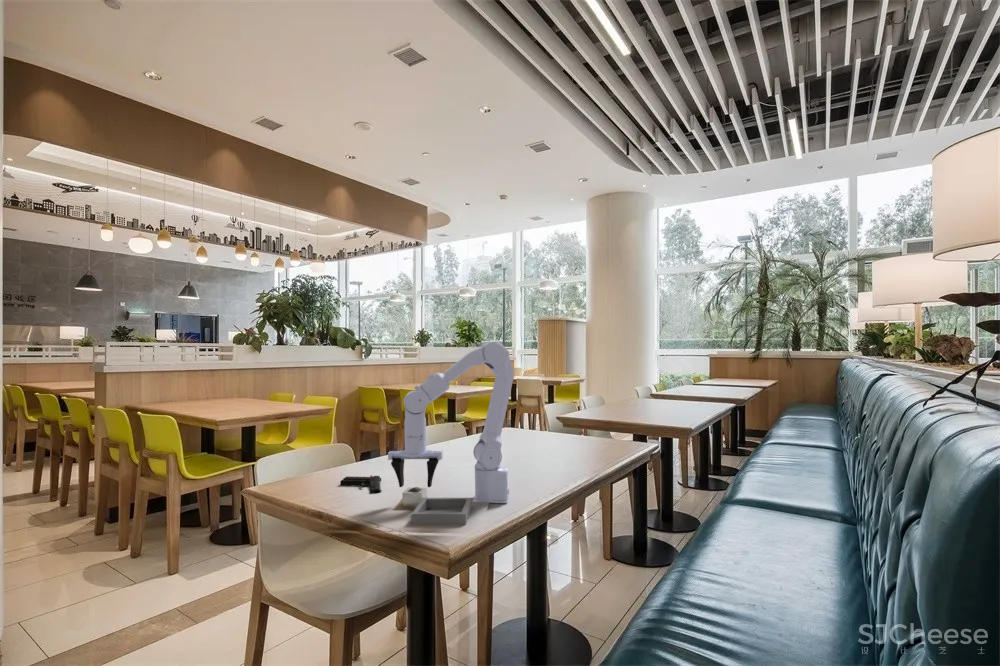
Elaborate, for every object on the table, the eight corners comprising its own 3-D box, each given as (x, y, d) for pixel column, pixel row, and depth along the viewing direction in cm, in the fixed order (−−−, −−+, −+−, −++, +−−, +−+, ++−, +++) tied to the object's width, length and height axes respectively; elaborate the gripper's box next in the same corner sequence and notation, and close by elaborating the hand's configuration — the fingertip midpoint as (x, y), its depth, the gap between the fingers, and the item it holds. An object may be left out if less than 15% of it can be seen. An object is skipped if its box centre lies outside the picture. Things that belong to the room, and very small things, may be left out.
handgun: (336, 491, 142) (381, 487, 145) (341, 476, 159) (381, 473, 162) (336, 500, 142) (381, 496, 145) (341, 483, 159) (381, 480, 162)
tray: (472, 509, 130) (472, 497, 130) (465, 526, 117) (465, 514, 117) (423, 509, 131) (423, 497, 131) (411, 526, 118) (411, 514, 118)
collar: (426, 501, 136) (426, 487, 136) (421, 507, 131) (421, 493, 131) (408, 500, 137) (408, 487, 137) (402, 506, 131) (402, 492, 131)
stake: (437, 500, 138) (437, 483, 138) (430, 512, 128) (430, 493, 128) (402, 500, 139) (402, 483, 139) (392, 512, 129) (392, 493, 129)
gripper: (384, 438, 131) (384, 490, 130) (439, 438, 130) (439, 490, 129) (392, 433, 138) (392, 483, 137) (443, 433, 137) (444, 483, 136)
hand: (415, 486), depth 134 cm, fingers open, 7 cm apart
